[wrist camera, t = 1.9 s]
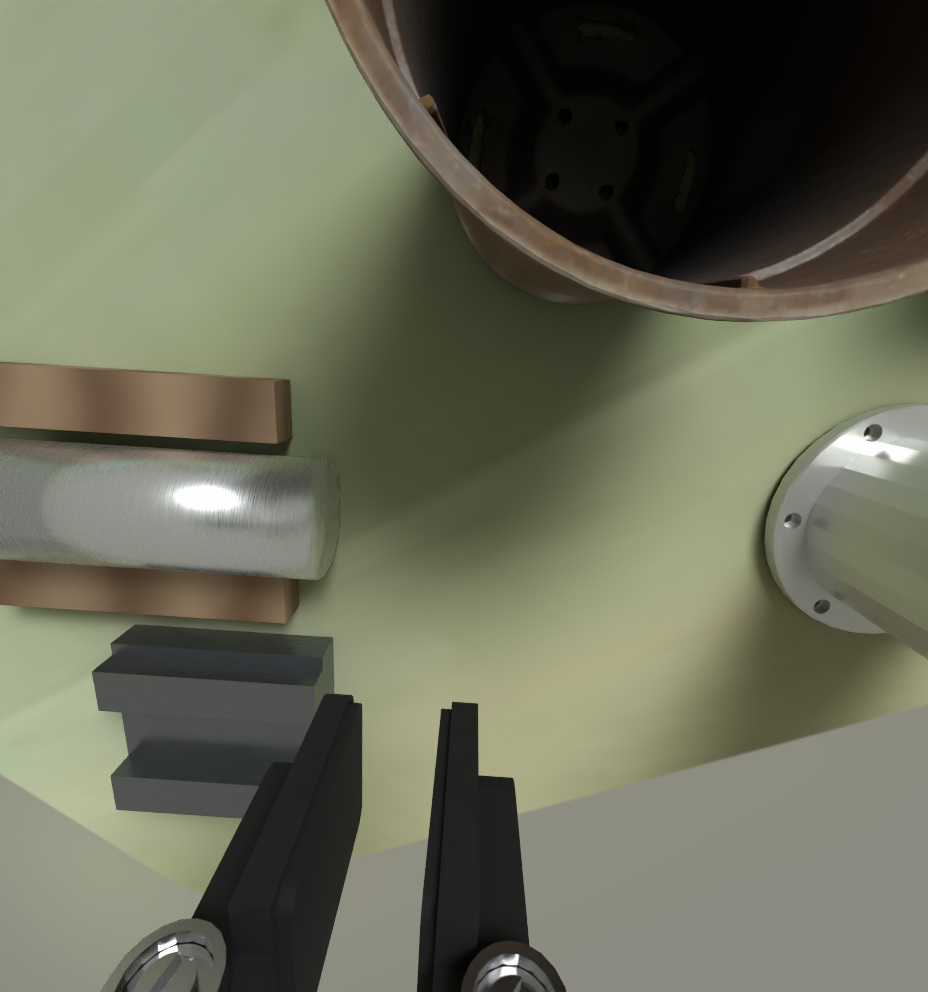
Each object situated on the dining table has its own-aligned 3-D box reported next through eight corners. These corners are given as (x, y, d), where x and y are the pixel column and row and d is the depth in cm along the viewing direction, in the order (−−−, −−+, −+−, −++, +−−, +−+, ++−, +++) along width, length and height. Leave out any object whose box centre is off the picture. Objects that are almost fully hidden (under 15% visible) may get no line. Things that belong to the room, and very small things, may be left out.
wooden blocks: (290, 379, 25) (274, 381, 23) (298, 605, 28) (285, 623, 26) (-18, 360, 25) (-59, 360, 23) (30, 588, 28) (-3, 604, 26)
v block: (332, 637, 29) (313, 674, 25) (335, 783, 32) (318, 833, 28) (134, 624, 29) (89, 659, 25) (156, 770, 32) (118, 819, 28)
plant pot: (802, -72, 19) (2159, -1874, 4) (741, 346, 24) (1249, 317, 8) (402, -61, 20) (124, -1648, 4) (414, 348, 24) (303, 324, 8)
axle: (340, 449, 26) (300, 473, 20) (341, 552, 27) (305, 602, 22) (46, 430, 26) (-78, 449, 20) (64, 534, 27) (-45, 579, 22)
